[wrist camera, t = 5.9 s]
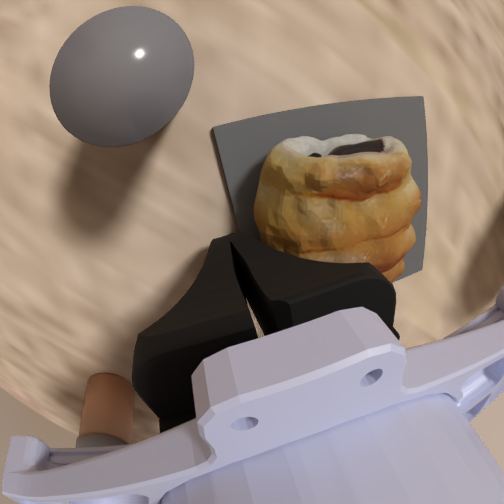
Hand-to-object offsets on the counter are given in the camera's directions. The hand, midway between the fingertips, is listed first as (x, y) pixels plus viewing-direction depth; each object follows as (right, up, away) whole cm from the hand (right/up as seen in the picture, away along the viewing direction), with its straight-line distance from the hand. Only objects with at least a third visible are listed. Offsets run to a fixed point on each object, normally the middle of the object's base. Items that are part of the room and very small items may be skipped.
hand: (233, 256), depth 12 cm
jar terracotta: (-8, -8, +3) cm, 12 cm away
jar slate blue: (-3, +6, -3) cm, 7 cm away
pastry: (+4, +2, +1) cm, 5 cm away
